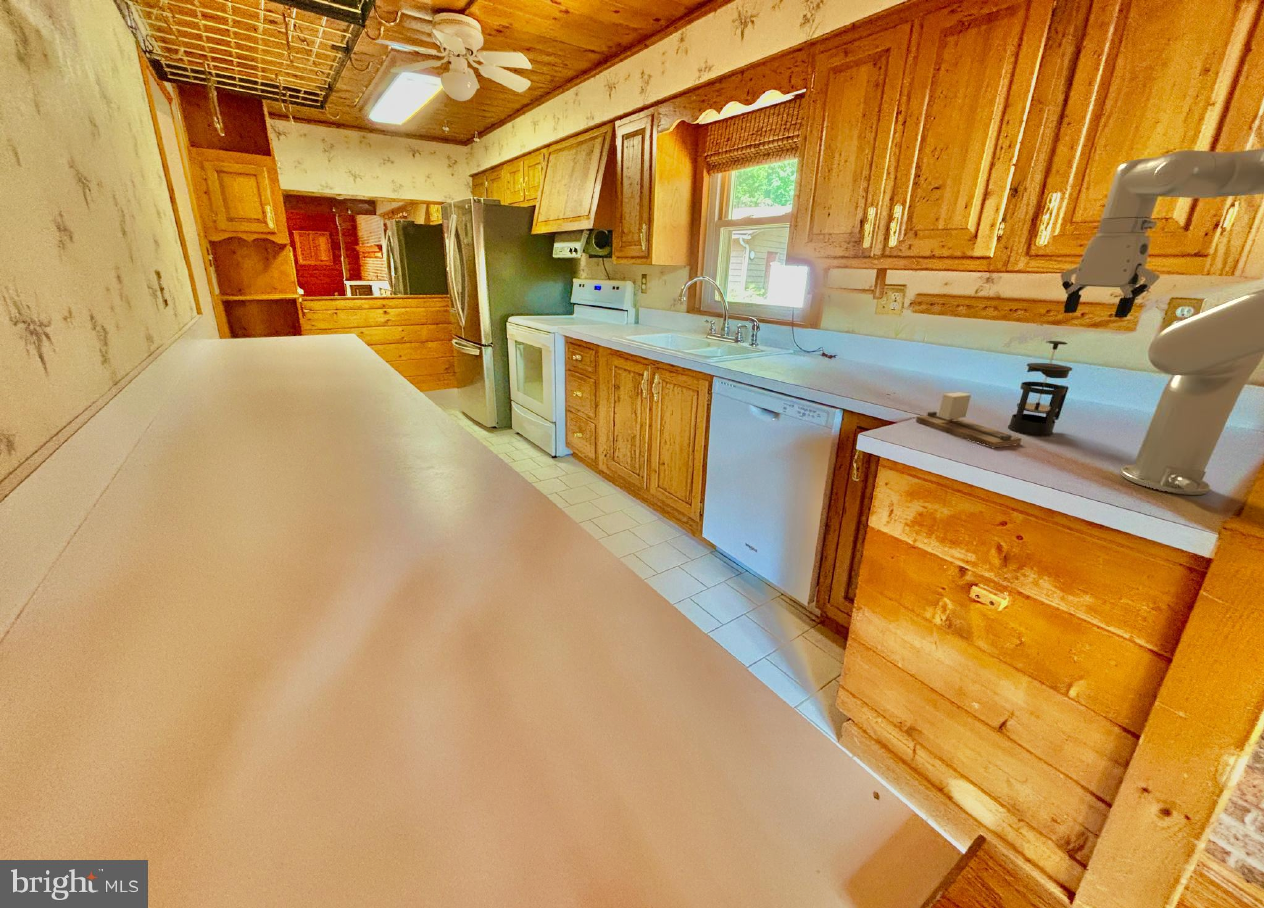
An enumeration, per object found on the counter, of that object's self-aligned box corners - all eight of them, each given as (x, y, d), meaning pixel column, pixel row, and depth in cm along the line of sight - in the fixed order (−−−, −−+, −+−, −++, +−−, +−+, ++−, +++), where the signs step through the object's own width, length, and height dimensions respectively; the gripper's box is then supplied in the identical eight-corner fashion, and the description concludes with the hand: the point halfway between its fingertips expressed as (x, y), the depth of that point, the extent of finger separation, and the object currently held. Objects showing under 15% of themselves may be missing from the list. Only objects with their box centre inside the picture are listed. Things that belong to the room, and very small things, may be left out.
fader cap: (964, 420, 132) (970, 394, 130) (947, 422, 130) (953, 396, 128) (954, 416, 135) (960, 392, 132) (937, 419, 133) (943, 394, 130)
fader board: (1019, 444, 121) (1022, 434, 120) (992, 448, 118) (995, 438, 117) (940, 418, 140) (942, 410, 139) (915, 421, 138) (917, 413, 137)
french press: (1026, 437, 126) (1054, 344, 117) (996, 425, 134) (1020, 338, 126) (1068, 435, 127) (1099, 343, 119) (1036, 424, 136) (1062, 337, 127)
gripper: (1188, 227, 96) (1154, 318, 102) (1086, 231, 111) (1062, 311, 118) (1163, 226, 94) (1130, 320, 100) (1063, 230, 109) (1040, 312, 115)
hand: (1094, 315), depth 109 cm, fingers open, 9 cm apart
